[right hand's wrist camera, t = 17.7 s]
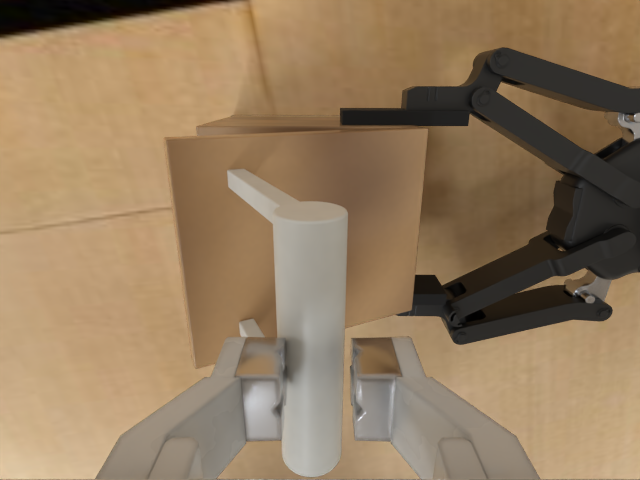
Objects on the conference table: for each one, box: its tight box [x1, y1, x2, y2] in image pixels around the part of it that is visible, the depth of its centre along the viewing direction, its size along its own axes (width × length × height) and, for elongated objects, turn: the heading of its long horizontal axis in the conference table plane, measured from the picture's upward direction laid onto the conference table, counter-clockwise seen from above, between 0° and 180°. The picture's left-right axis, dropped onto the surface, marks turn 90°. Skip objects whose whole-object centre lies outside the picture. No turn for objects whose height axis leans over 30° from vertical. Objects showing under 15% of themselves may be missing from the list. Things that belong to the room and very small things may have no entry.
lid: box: [163, 127, 428, 477], centre depth 15 cm, size 12×10×9 cm
